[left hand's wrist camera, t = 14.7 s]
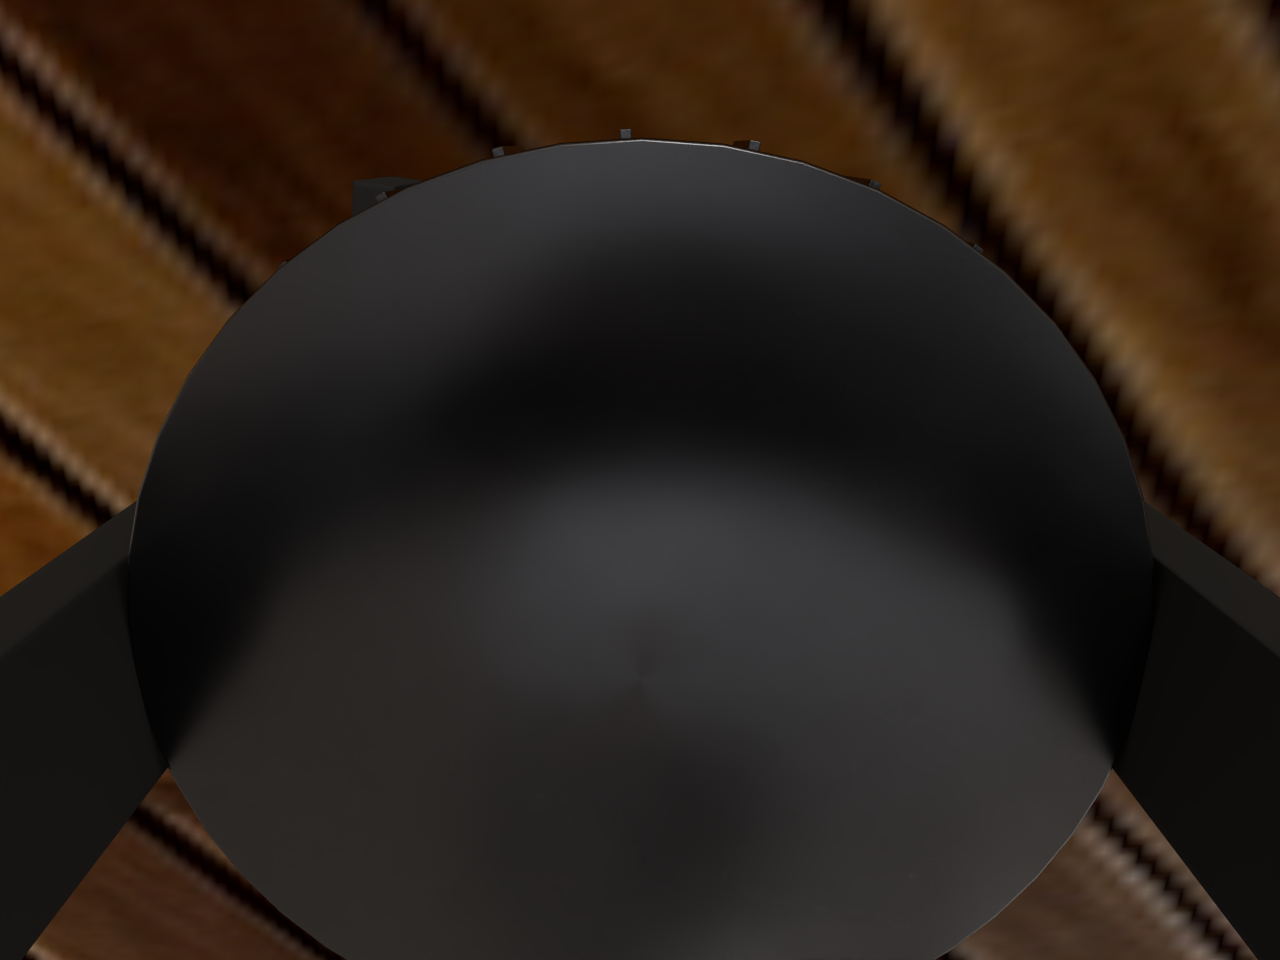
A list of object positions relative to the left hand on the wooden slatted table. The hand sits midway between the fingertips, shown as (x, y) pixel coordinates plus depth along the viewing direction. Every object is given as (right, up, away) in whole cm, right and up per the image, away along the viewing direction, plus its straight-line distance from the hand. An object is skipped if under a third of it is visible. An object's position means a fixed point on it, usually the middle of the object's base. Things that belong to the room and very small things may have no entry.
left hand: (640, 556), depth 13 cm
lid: (0, -1, -3) cm, 3 cm away
